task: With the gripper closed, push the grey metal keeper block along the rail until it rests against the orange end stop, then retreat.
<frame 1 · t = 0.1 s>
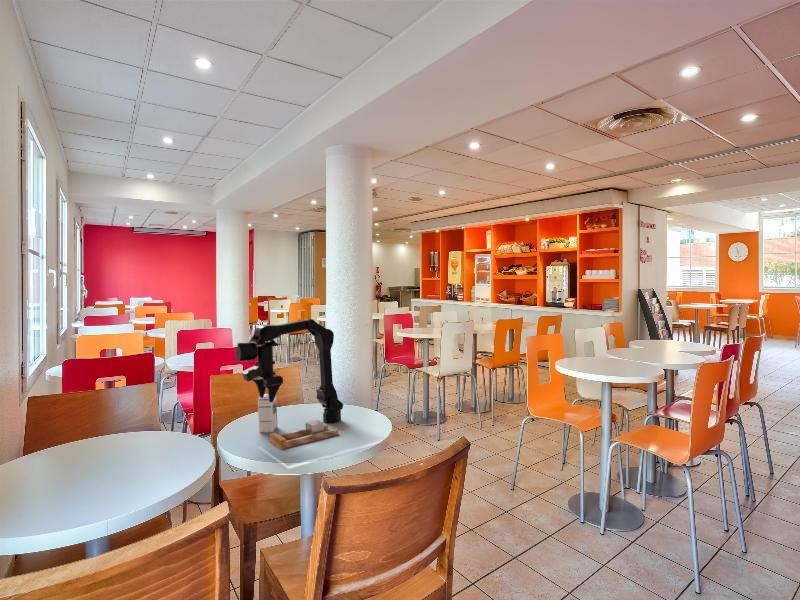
hand: (266, 399, 171), 15 cm above the table, tool pointing down, fingers open, 9 cm apart
keeper: (314, 429, 171), point 3 cm above the table, slide at 0.0 cm
rail: (305, 440, 168), on the table
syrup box: (268, 432, 179), on the table
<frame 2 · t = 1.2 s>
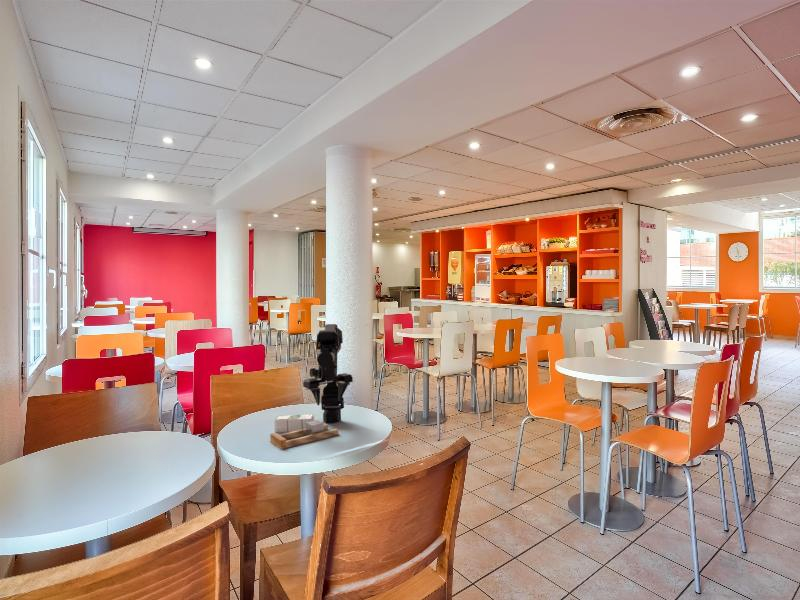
hand: (329, 403, 175), 12 cm above the table, tool pointing down, fingers open, 9 cm apart
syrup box: (275, 424, 179), point 3 cm above the table
everything else where it was.
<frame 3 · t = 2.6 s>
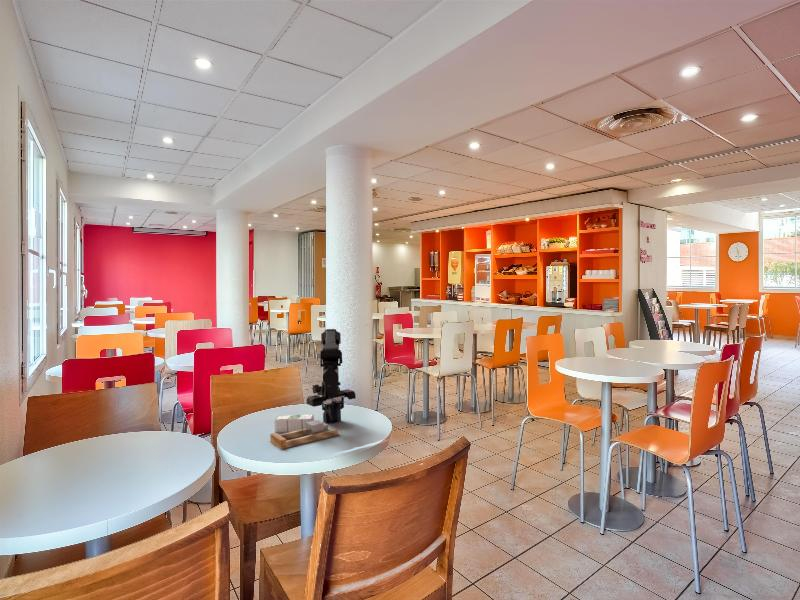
hand: (332, 419, 176), 5 cm above the table, tool pointing down, fingers closed
nothing on the table moved.
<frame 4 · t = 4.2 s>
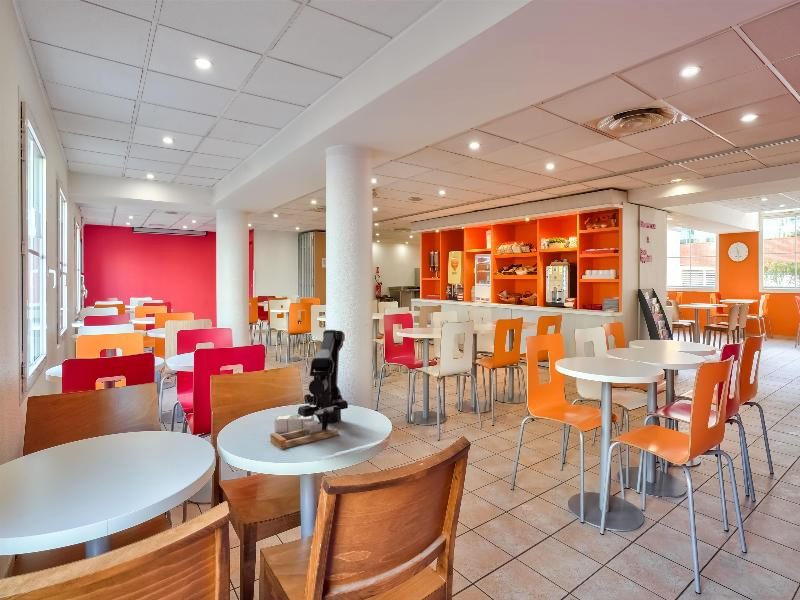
hand: (324, 429, 173), 2 cm above the table, tool pointing down, fingers closed
keeper: (312, 429, 170), point 3 cm above the table, slide at 0.8 cm, touching gripper
everything else where it was.
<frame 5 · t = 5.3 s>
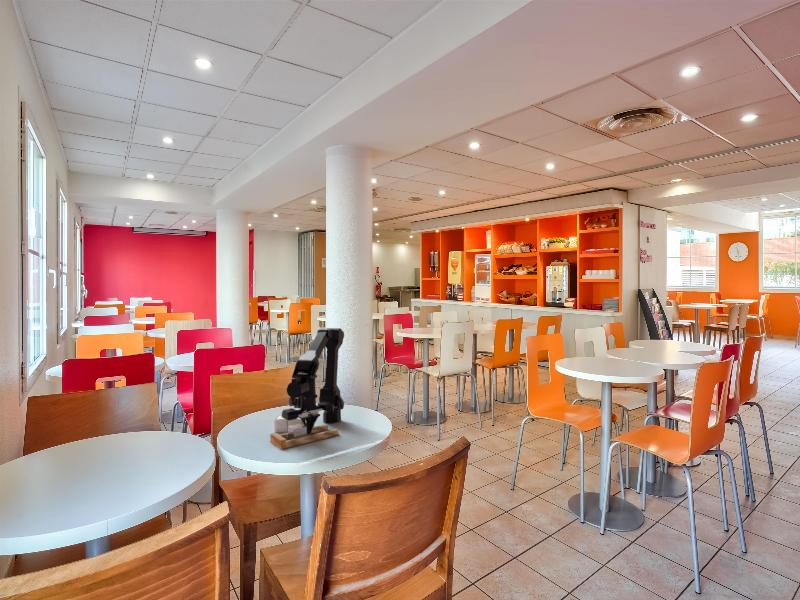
hand: (308, 433, 169), 2 cm above the table, tool pointing down, fingers closed
keeper: (297, 433, 166), point 3 cm above the table, slide at 7.2 cm, touching gripper
everything else where it was.
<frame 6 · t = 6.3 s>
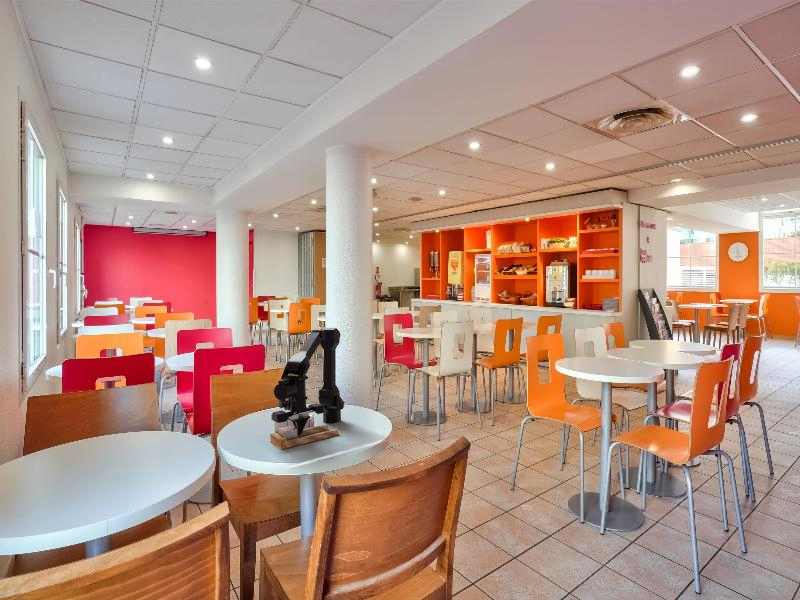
hand: (299, 435, 167), 2 cm above the table, tool pointing down, fingers closed
keeper: (287, 435, 164), point 3 cm above the table, slide at 10.9 cm, touching gripper
everything else where it was.
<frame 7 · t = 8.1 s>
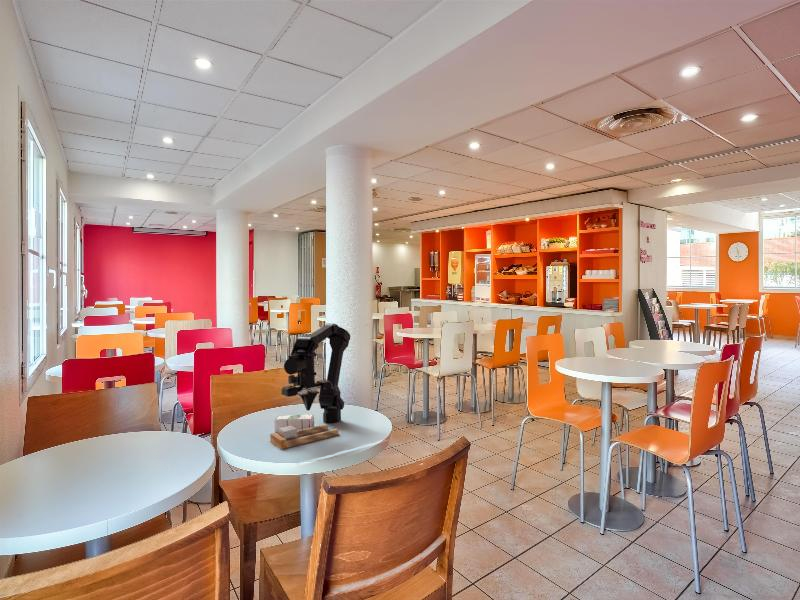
hand: (308, 410, 173), 10 cm above the table, tool pointing down, fingers closed
keeper: (287, 435, 164), point 3 cm above the table, slide at 10.8 cm
everything else where it was.
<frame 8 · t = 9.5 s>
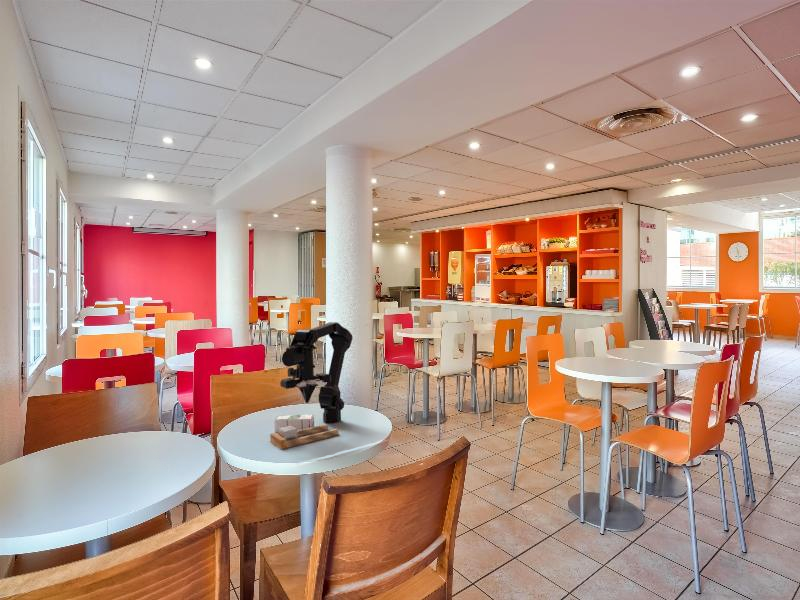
hand: (306, 402, 174), 12 cm above the table, tool pointing down, fingers closed
nothing on the table moved.
at the end: keeper slide at 10.8 cm; keeper 0.1 cm from the target spot, point 3.4 cm above the table; the gripper is holding nothing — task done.
